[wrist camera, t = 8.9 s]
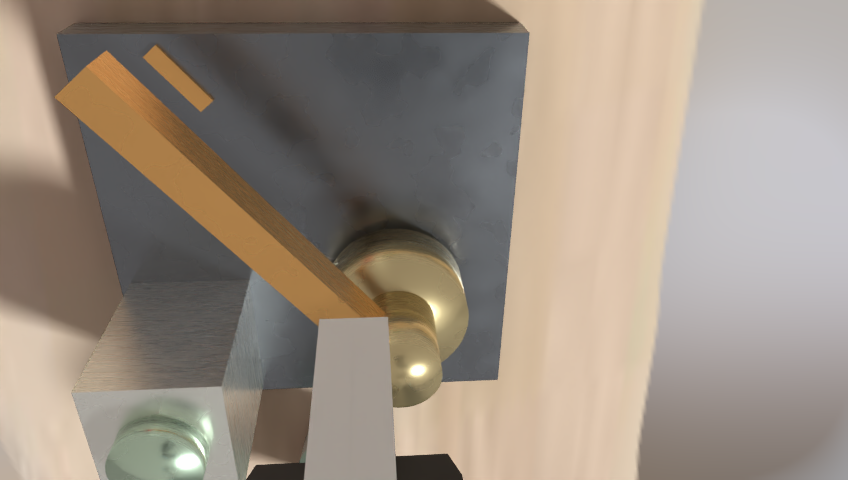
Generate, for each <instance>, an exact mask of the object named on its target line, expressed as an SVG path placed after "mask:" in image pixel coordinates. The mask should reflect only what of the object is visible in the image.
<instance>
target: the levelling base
mask: <svg viewBox="0 0 848 480" xmlns="http://www.w3.org/2000/svg"><path fill="white" fill-rule="evenodd" d="M57 38H58V42H59V46H60V50H61V53H62V57H63V61H64V65H65V69H66V73H67V77H68V81H69V82H70V81H71V80H72V79H73V78H75V77H76V76H77V75H78V74H79V73H80V72H81V71H82V70H83V69H84V68H85V67H86V66H87V65H88V64H90V63H91V62H92V61H93V60H95V59H96V58H97V57H99V56H100V55H101V54H102V53H104V52H105V51H106V50H107V51H108V52H109V53H110V54H111V55H112V56H113V57H114V58H115V59H116V60H117V61H118V62H119V63H120V64H122V65H123V66H124V67H125V68H126V69H127V70H128V71H129V72H130V73H131V74H132V75H133V76H134V77H135V78H136V79H137V80H139V81H140V82H141V83H142V84H143V85H144V86H145V87H146V88H147V89H148V90H149V91H150V92H151V93H152V94H153V95H155V96H156V97H157V98H158V99H159V100H160V101H161V102H162V103H163V104H164V105H165V106H166V107H167V108H168V109H169V110H170V111H172V112H173V113H174V114H175V115H176V116H177V117H178V118H179V119H180V120H181V121H182V122H183V123H184V124H185V125H186V126H187V127H189V128H190V129H191V130H192V131H193V132H194V133H195V134H196V135H197V136H198V137H199V138H200V139H201V140H202V141H203V142H204V143H206V144H207V145H208V146H209V147H210V148H211V149H212V150H213V151H214V152H215V153H216V154H217V155H218V156H219V157H220V158H221V159H223V160H224V161H225V162H226V163H227V164H228V165H229V166H230V167H231V168H232V169H233V170H234V171H235V172H236V173H237V174H239V175H240V176H241V177H242V178H243V179H244V180H245V181H246V182H247V183H248V184H249V185H250V186H251V187H252V188H253V189H254V190H256V191H257V192H258V193H259V194H260V195H261V196H262V197H263V198H264V199H265V200H266V201H267V202H268V203H269V204H270V205H271V206H273V207H274V208H275V209H276V210H277V211H278V212H279V213H280V214H281V215H282V216H283V217H284V218H285V219H286V220H287V221H288V222H290V223H291V224H292V225H293V226H294V227H295V228H296V229H297V230H298V231H299V232H300V233H301V234H302V235H303V236H304V237H305V238H307V239H308V240H309V241H310V242H311V243H312V244H313V245H314V246H315V247H316V248H317V249H318V250H319V251H320V252H321V253H322V254H324V255H325V256H326V257H327V258H328V259H329V260H330V261H331V262H332V263H334V261H335V260H336V258H337V257H338V255H339V254H340V253H341V252H342V251H343V250H344V249H345V248H346V247H347V246H348V245H349V244H350V243H352V242H353V241H355V240H356V239H358V238H360V237H362V236H364V235H366V234H369V233H372V232H375V231H380V230H385V229H408V230H413V231H417V232H421V233H423V234H426V235H428V236H430V237H432V238H434V239H436V240H437V241H439V242H440V243H441V244H443V245H444V246H445V247H446V248H447V249H448V250H449V252H450V253H451V254H452V255H453V257H454V259H455V260H456V262H457V265H458V267H459V271H460V275H461V279H462V284H463V288H464V293H465V297H466V301H467V306H468V312H469V320H468V327H467V330H466V333H465V336H464V338H463V340H462V341H461V343H460V345H459V346H458V347H457V349H456V350H455V351H454V352H453V353H452V354H451V355H450V356H449V357H448V358H447V359H445V360H444V361H443V362H441V366H442V381H441V382H452V381H476V380H498V369H499V358H500V348H501V337H502V326H503V315H504V304H505V293H506V282H507V271H508V260H509V249H510V238H511V228H512V217H513V206H514V195H515V184H516V173H517V162H518V151H519V140H520V129H521V119H522V108H523V97H524V86H525V75H526V64H527V53H528V42H529V32H528V31H527V30H526V29H525V27H524V26H523V25H522V24H521V23H81V24H73V25H71V26H69V27H68V28H66V29H64V30H63V31H61V32H59V33H58V34H57ZM78 120H79V124H80V128H81V132H82V136H83V140H84V144H85V148H86V152H87V156H88V160H89V164H90V167H91V171H92V175H93V179H94V183H95V187H96V191H97V195H98V199H99V203H100V207H101V211H102V215H103V219H104V222H105V226H106V230H107V234H108V238H109V242H110V246H111V250H112V254H113V258H114V262H115V266H116V270H117V274H118V278H119V281H120V285H121V289H122V293H123V298H122V300H121V302H120V303H119V305H118V307H117V309H116V311H115V313H114V315H113V316H112V318H111V320H110V322H109V324H108V326H107V328H106V329H105V331H104V333H103V335H102V337H101V339H100V341H99V342H98V344H97V346H96V348H95V350H94V352H93V354H92V355H91V357H90V359H89V361H88V363H87V365H86V367H85V368H84V370H83V372H82V374H81V376H80V378H79V380H78V381H77V383H76V385H75V387H74V389H73V391H72V396H73V399H74V402H75V405H76V408H77V411H78V414H79V417H80V420H81V423H82V426H83V429H84V432H85V435H86V439H87V442H88V445H89V448H90V451H91V454H92V457H93V460H94V463H95V466H96V469H97V472H98V475H99V478H100V480H246V475H247V469H248V464H249V459H250V453H251V448H252V443H253V438H254V432H255V427H256V422H257V416H258V411H259V406H260V400H261V395H262V390H263V389H285V388H309V387H313V380H314V370H315V359H316V349H317V339H318V328H319V327H318V326H317V325H316V324H315V323H314V322H313V321H312V320H310V319H309V318H308V317H307V316H306V315H305V314H303V313H302V312H301V311H300V310H299V309H298V308H297V307H295V306H294V305H293V304H292V303H291V302H290V301H288V300H287V299H286V298H285V297H284V296H283V295H282V294H280V293H279V292H278V291H277V290H276V289H275V288H273V287H272V286H271V285H270V284H269V283H268V282H267V281H265V280H264V279H263V278H262V277H261V276H260V275H259V274H257V273H256V272H255V271H254V270H253V269H252V268H250V267H249V266H248V265H247V264H246V263H245V262H244V261H242V260H241V259H240V258H239V257H238V256H237V255H235V254H234V253H233V252H232V251H231V250H230V249H229V248H227V247H226V246H225V245H224V244H223V243H222V242H221V241H219V240H218V239H217V238H216V237H215V236H214V235H212V234H211V233H210V232H209V231H208V230H207V229H206V228H204V227H203V226H202V225H201V224H200V223H199V222H197V221H196V220H195V219H194V218H193V217H192V216H191V215H189V214H188V213H187V212H186V211H185V210H184V209H182V208H181V207H180V206H179V205H178V204H177V203H176V202H174V201H173V200H172V199H171V198H170V197H169V196H168V195H166V194H165V193H164V192H163V191H162V190H161V189H159V188H158V187H157V186H156V185H155V184H154V183H153V182H151V181H150V180H149V179H148V178H147V177H146V176H144V175H143V174H142V173H141V172H140V171H139V170H138V169H136V168H135V167H134V166H133V165H132V164H131V163H130V162H128V161H127V160H126V159H125V158H124V157H123V156H121V155H120V154H119V153H118V152H117V151H116V150H115V149H113V148H112V147H111V146H110V145H109V144H108V143H106V142H105V141H104V140H103V139H102V138H101V137H100V136H98V135H97V134H96V133H95V132H94V131H93V130H92V129H90V128H89V127H88V126H87V125H86V124H85V123H83V122H82V121H81V120H80V119H79V118H78Z"/></svg>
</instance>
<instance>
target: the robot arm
mask: <svg viewBox="0 0 848 480" xmlns="http://www.w3.org/2000/svg"><path fill="white" fill-rule="evenodd" d="M246 480H463V477H462V474H461V473H460V471H459V470H458V468H457V467H456V465H455V464H454V463H453V461H452V460H451V458H450V457H449V455H448V454H434V455H414V456H395V438H394V419H393V401H392V382H391V364H390V345H389V326H388V317H368V318H339V319H319V328H318V339H317V349H316V359H315V370H314V380H313V390H312V401H311V411H310V421H309V432H308V442H307V452H306V463H287V464H268V465H256V466H255V467H254V469H253V470H252V472H251V473H250V475H249V476H248V478H247V479H246Z"/></svg>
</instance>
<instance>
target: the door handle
mask: <svg viewBox="0 0 848 480" xmlns="http://www.w3.org/2000/svg"><path fill="white" fill-rule="evenodd" d="M55 98H56V99H57V100H58V101H59V102H60V103H62V104H63V105H64V106H65V107H66V108H67V109H68V110H70V111H71V112H72V113H73V114H74V115H75V116H77V117H78V118H79V119H80V120H81V121H82V122H83V123H85V124H86V125H87V126H88V127H89V128H90V129H92V130H93V131H94V132H95V133H96V134H97V135H98V136H100V137H101V138H102V139H103V140H104V141H105V142H106V143H108V144H109V145H110V146H111V147H112V148H113V149H115V150H116V151H117V152H118V153H119V154H120V155H121V156H123V157H124V158H125V159H126V160H127V161H128V162H130V163H131V164H132V165H133V166H134V167H135V168H136V169H138V170H139V171H140V172H141V173H142V174H143V175H144V176H146V177H147V178H148V179H149V180H150V181H151V182H153V183H154V184H155V185H156V186H157V187H158V188H159V189H161V190H162V191H163V192H164V193H165V194H166V195H168V196H169V197H170V198H171V199H172V200H173V201H174V202H176V203H177V204H178V205H179V206H180V207H181V208H182V209H184V210H185V211H186V212H187V213H188V214H189V215H191V216H192V217H193V218H194V219H195V220H196V221H197V222H199V223H200V224H201V225H202V226H203V227H204V228H206V229H207V230H208V231H209V232H210V233H211V234H212V235H214V236H215V237H216V238H217V239H218V240H219V241H221V242H222V243H223V244H224V245H225V246H226V247H227V248H229V249H230V250H231V251H232V252H233V253H234V254H235V255H237V256H238V257H239V258H240V259H241V260H242V261H244V262H245V263H246V264H247V265H248V266H249V267H250V268H252V269H253V270H254V271H255V272H256V273H257V274H259V275H260V276H261V277H262V278H263V279H264V280H265V281H267V282H268V283H269V284H270V285H271V286H272V287H273V288H275V289H276V290H277V291H278V292H279V293H280V294H282V295H283V296H284V297H285V298H286V299H287V300H288V301H290V302H291V303H292V304H293V305H294V306H295V307H297V308H298V309H299V310H300V311H301V312H302V313H303V314H305V315H306V316H307V317H308V318H309V319H310V320H312V321H313V322H314V323H315V324H316V325H317V326H318V327H319V319H339V318H368V317H388V326H389V345H390V364H391V382H392V401H393V407H397V408H399V407H409V406H414V405H417V404H419V403H422V402H424V401H425V400H427V399H428V398H430V397H431V396H432V395H433V394H434V393H435V392H436V391H437V389H438V388H439V386H440V384H441V381H442V366H441V362H443V361H444V360H445V359H447V358H448V357H449V356H450V355H451V354H452V353H453V352H454V351H455V350H456V349H457V347H458V346H459V345H460V343H461V341H462V340H463V338H464V336H465V333H466V330H467V327H468V320H469V312H468V306H467V301H466V297H465V293H464V288H463V284H462V279H461V275H460V271H459V267H458V265H457V262H456V260H455V259H454V257H453V255H452V254H451V253H450V252H449V250H448V249H447V248H446V247H445V246H444V245H443V244H441V243H440V242H439V241H437V240H436V239H434V238H432V237H430V236H428V235H426V234H423V233H421V232H417V231H413V230H408V229H385V230H380V231H375V232H372V233H369V234H366V235H364V236H362V237H360V238H358V239H356V240H355V241H353V242H352V243H350V244H349V245H348V246H347V247H346V248H345V249H344V250H343V251H342V252H341V253H340V254H339V255H338V257H337V258H336V260H335V261H334V263H332V262H331V261H330V260H329V259H328V258H327V257H326V256H325V255H324V254H322V253H321V252H320V251H319V250H318V249H317V248H316V247H315V246H314V245H313V244H312V243H311V242H310V241H309V240H308V239H307V238H305V237H304V236H303V235H302V234H301V233H300V232H299V231H298V230H297V229H296V228H295V227H294V226H293V225H292V224H291V223H290V222H288V221H287V220H286V219H285V218H284V217H283V216H282V215H281V214H280V213H279V212H278V211H277V210H276V209H275V208H274V207H273V206H271V205H270V204H269V203H268V202H267V201H266V200H265V199H264V198H263V197H262V196H261V195H260V194H259V193H258V192H257V191H256V190H254V189H253V188H252V187H251V186H250V185H249V184H248V183H247V182H246V181H245V180H244V179H243V178H242V177H241V176H240V175H239V174H237V173H236V172H235V171H234V170H233V169H232V168H231V167H230V166H229V165H228V164H227V163H226V162H225V161H224V160H223V159H221V158H220V157H219V156H218V155H217V154H216V153H215V152H214V151H213V150H212V149H211V148H210V147H209V146H208V145H207V144H206V143H204V142H203V141H202V140H201V139H200V138H199V137H198V136H197V135H196V134H195V133H194V132H193V131H192V130H191V129H190V128H189V127H187V126H186V125H185V124H184V123H183V122H182V121H181V120H180V119H179V118H178V117H177V116H176V115H175V114H174V113H173V112H172V111H170V110H169V109H168V108H167V107H166V106H165V105H164V104H163V103H162V102H161V101H160V100H159V99H158V98H157V97H156V96H155V95H153V94H152V93H151V92H150V91H149V90H148V89H147V88H146V87H145V86H144V85H143V84H142V83H141V82H140V81H139V80H137V79H136V78H135V77H134V76H133V75H132V74H131V73H130V72H129V71H128V70H127V69H126V68H125V67H124V66H123V65H122V64H120V63H119V62H118V61H117V60H116V59H115V58H114V57H113V56H112V55H111V54H110V53H109V52H108V51H107V50H106V51H105V52H104V53H102V54H101V55H100V56H99V57H97V58H96V59H95V60H93V61H92V62H91V63H90V64H88V65H87V66H86V67H85V68H84V69H83V70H82V71H81V72H80V73H79V74H78V75H77V76H76V77H75V78H73V79H72V80H71V81H70V82H69V83H68V84H67V85H66V86H65V87H64V88H63V89H62V90H61V91H60V92H59V93H58V94H57V95H56V96H55Z"/></svg>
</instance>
